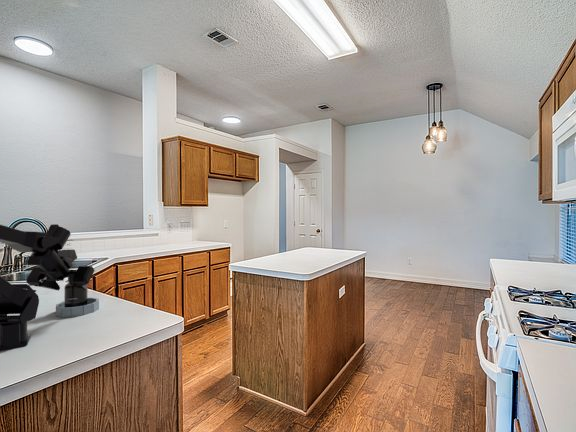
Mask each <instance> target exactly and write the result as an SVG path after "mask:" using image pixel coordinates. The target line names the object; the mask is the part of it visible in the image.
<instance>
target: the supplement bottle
mask: <svg viewBox="0 0 576 432" xmlns="http://www.w3.org/2000/svg"><path fill="white" fill-rule="evenodd" d="M63 291H64V293H63V294H64V300H63V302H64V306H65V307H78V306H84V305H88V298H89V295H88V292H89V291H88V288H87V290H84V289H82V288H80V287H78V286H76V284H75V283H74V282H73V277H67V283H65V285H64V290H63Z"/></svg>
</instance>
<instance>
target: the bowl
mask: <svg viewBox="0 0 576 432" xmlns="http://www.w3.org/2000/svg"><path fill="white" fill-rule="evenodd" d="M99 309H100V299H99V298H98V297H88V305H84V306H78V307H65V306H64V301H61V302H59V303H57V304H56V305H55V316H56V317H59V318H73V317H79V316H80V317H81V316H85V315H88V314H93V313H95V312H96V311H98V310H99Z"/></svg>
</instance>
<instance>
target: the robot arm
mask: <svg viewBox="0 0 576 432" xmlns="http://www.w3.org/2000/svg"><path fill="white" fill-rule="evenodd" d="M70 237H71V231H70V230H69V229H67V228H65V227H62V226H60V225H59V224H56V223H54V224H50V226H49V227H48V229H47V231H46V232H43V231H29V230H28V231H27V230H20V229H17V228H13V227H9V226H7V225H3V224H0V243H1V244H5V245H7V246H9V247H10V248H11V250H14V251H16V252H18V253H31V254H30V255H29V256H28V260H27V262H26V265H27V266H34V267H33V268H32V269H31V271H30V272H29V274H28V275H27V277H26V279H25V281H26V283H11V282H9V281H8V280H6V279H5V278H4V277H2V276H1V275H0V351H3V350H8V349H15V348H20V347H25V346H28V345H29V342H30V339H31V335H28V323H29V322H31V321H32V320H34V319H36V318H37V314H38V313H37V312H38V309H39V306H40V305H39V304H40V298H39V295H38V294H37V290H36V289H33V288H32V287H31V286H33V287H39V288H45V289H50V290H55V291H60V289H61V287H60V285H59V284H58V281H59V282H60V281H61V282H63V281H64V280H65V279H66V278H68V277H73V282H74V283H75V284H76V286H78V287H80V288H82V289H84V290H87V288H88V284H89V283H90V281H91V279H92V277H93V274H94V272H95V271H96V270H95V269H94V267H93V266H92V265H80V266H78V267H77V269H72V268H73V266H74V265H73V263H74V262H75V260H78V255H77V252H76V250H75V249H63V248H64V247H65V245H66V243H67V242H68V240H69V238H70Z"/></svg>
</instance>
